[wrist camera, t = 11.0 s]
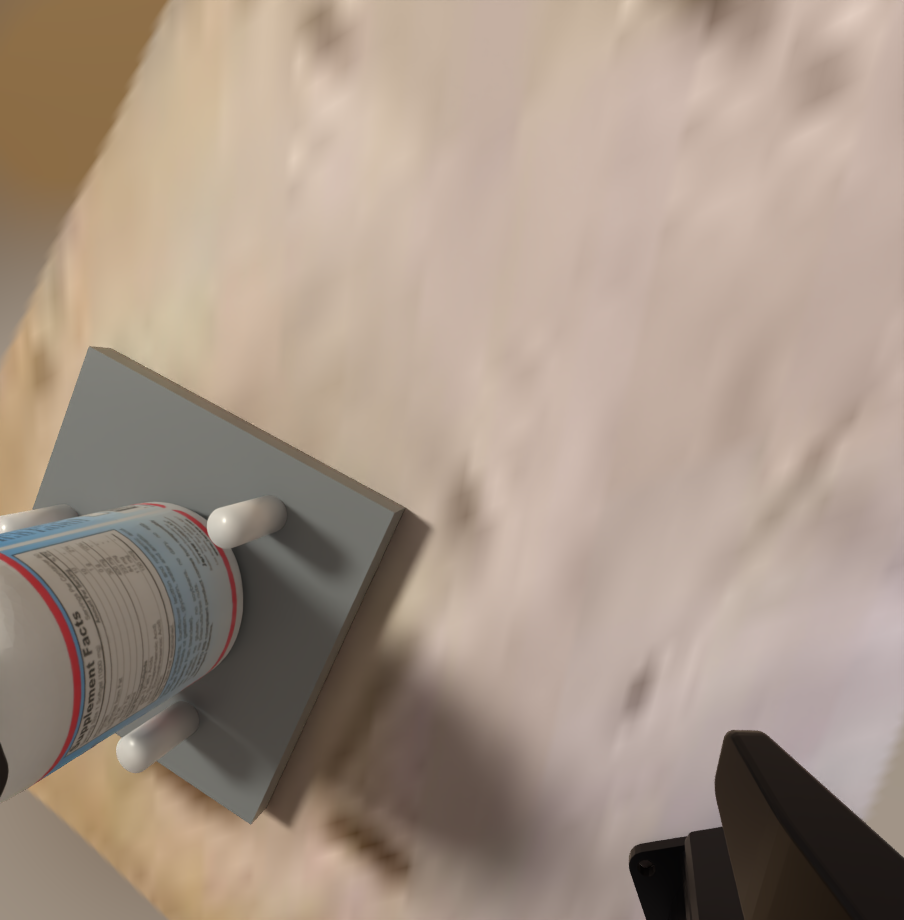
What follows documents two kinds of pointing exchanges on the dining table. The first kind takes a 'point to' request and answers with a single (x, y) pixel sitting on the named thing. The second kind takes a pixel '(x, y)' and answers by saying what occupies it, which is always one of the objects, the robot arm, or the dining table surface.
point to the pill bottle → (105, 627)
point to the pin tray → (255, 548)
